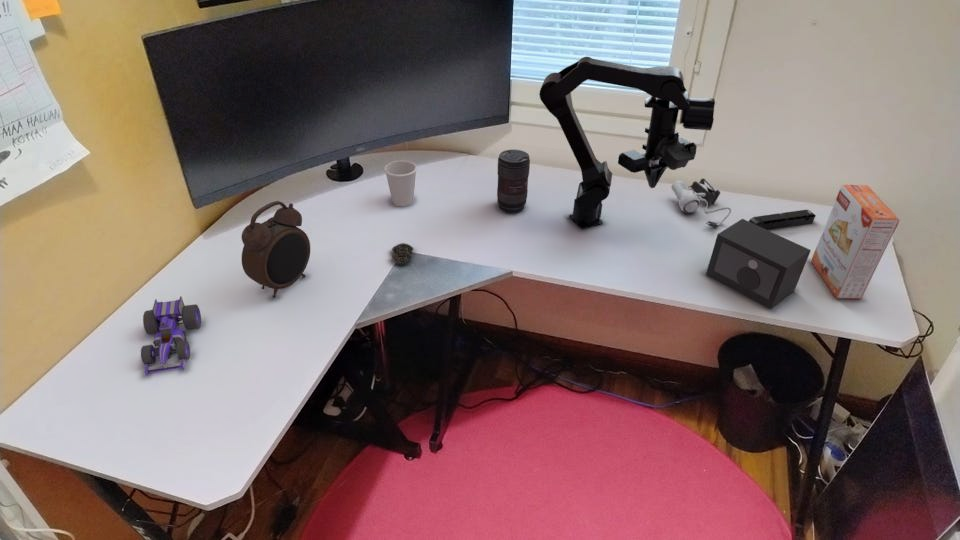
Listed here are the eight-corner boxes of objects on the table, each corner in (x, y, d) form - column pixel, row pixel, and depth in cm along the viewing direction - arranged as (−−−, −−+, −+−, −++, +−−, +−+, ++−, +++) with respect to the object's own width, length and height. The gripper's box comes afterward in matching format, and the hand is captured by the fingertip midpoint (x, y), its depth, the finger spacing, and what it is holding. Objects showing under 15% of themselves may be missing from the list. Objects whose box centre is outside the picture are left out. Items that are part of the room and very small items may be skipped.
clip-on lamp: (732, 234, 159) (700, 188, 171) (744, 216, 155) (710, 170, 166) (693, 236, 156) (663, 189, 167) (704, 218, 152) (672, 171, 163)
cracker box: (808, 261, 145) (840, 183, 133) (834, 262, 145) (869, 183, 132) (833, 299, 134) (871, 217, 121) (861, 300, 134) (902, 218, 121)
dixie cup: (401, 190, 170) (399, 157, 164) (425, 199, 166) (423, 166, 160) (380, 202, 164) (377, 168, 158) (404, 212, 161) (401, 178, 155)
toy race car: (137, 377, 113) (125, 351, 110) (153, 324, 125) (142, 299, 121) (192, 369, 115) (183, 343, 111) (202, 317, 127) (194, 292, 123)
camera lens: (532, 204, 164) (536, 153, 155) (517, 218, 159) (520, 165, 150) (506, 196, 168) (508, 145, 159) (490, 209, 162) (492, 157, 153)
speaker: (704, 275, 140) (716, 234, 134) (729, 257, 146) (742, 218, 139) (769, 310, 131) (785, 269, 124) (794, 290, 136) (811, 250, 130)
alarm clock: (272, 308, 129) (252, 228, 117) (248, 296, 132) (226, 217, 120) (320, 273, 139) (307, 196, 127) (297, 262, 142) (282, 186, 130)
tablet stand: (752, 232, 155) (755, 222, 153) (746, 227, 157) (749, 217, 155) (813, 223, 158) (817, 213, 157) (806, 218, 160) (810, 208, 159)
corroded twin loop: (390, 266, 141) (390, 262, 141) (392, 246, 148) (392, 243, 147) (412, 266, 142) (412, 262, 141) (413, 246, 148) (413, 242, 147)
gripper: (653, 147, 130) (642, 211, 139) (719, 130, 137) (705, 192, 146) (620, 128, 138) (612, 190, 147) (685, 114, 145) (673, 173, 154)
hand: (651, 187), depth 149 cm, fingers closed
